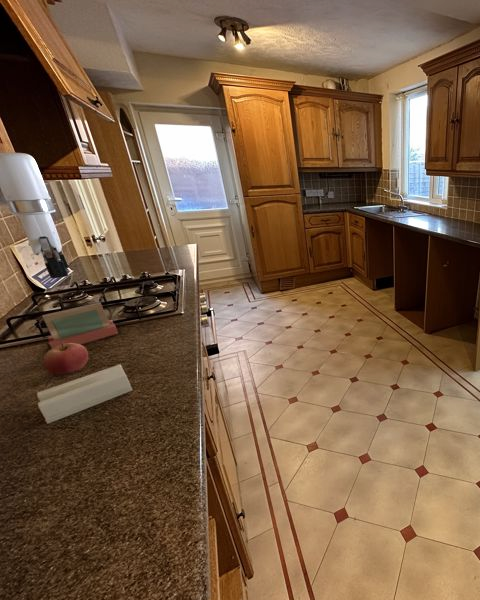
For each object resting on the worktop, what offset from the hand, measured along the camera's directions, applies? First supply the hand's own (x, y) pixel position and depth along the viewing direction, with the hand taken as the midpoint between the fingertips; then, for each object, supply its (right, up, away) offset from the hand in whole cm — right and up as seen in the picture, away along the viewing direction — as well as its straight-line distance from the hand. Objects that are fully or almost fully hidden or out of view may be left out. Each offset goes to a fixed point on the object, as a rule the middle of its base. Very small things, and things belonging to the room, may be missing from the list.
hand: (60, 272), depth 86 cm
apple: (+8, -26, -4) cm, 27 cm away
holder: (+21, -29, -14) cm, 39 cm away
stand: (-1, -20, +9) cm, 22 cm away
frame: (-1, -19, +8) cm, 21 cm away
